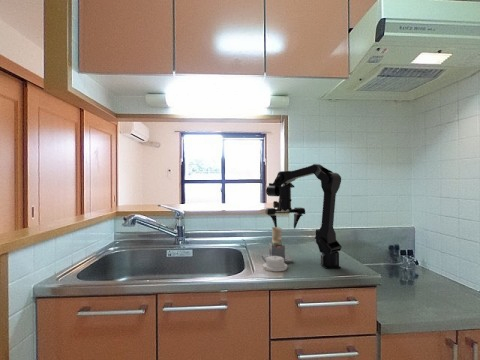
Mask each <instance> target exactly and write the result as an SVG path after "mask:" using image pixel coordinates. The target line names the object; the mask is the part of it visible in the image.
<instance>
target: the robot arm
mask: <svg viewBox="0 0 480 360" xmlns="http://www.w3.org/2000/svg"><path fill="white" fill-rule="evenodd" d="M311 175H315V177H316V178H317V179H318V180H319V181H320V186H321V190H322V192H323V201H322V212H321V213H322V215H321V224H320V225H321V226H320V228H319V229H316V230H315V237H314V240H315V244H317V247H318V250H319V252H320V253H321V254H320V265H321V266H322V267H324V269H342V266H340V252H341V250H342V245H341V244H340V243H339V241H338V240H337V234H336V231H335V228H334V221H335V209H336V196H337V193H338V192H339V190H340V188H341V183H342V177H341V175H340V174H339V173H337V172H333V171H332V170H330V169H329V168H327V167H324V166H323V165H321V164H319V163H314V164H311V165H308V166H305V167H301V168H297V169H294V170H281V171H278V172H277V176H276V177H275V179H274V181H273V182H269V183H268V185H267V186H266V189H265V193H266V195H267V196H268V197H278V201H277V200H275V201H273V204H272V206H273V207H266V208H265V215H268V217H270V218H271V220H272V222H273V225H274V227H278V221H277V215H276V214H287V213H288V214H290V213H291V214H293V229H297V228H296V227H297V226H298V225H297V224H298V223H299V220H300V219H301V217H302V216H303V215H306V209H305V208H304V207H300V206H299V207H298V206H297V207H294V208H292V188H295V185H294V184H293V183H292V182H295V180H297V179H300V178H303V177H308V176H311Z"/></svg>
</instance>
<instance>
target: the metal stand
mask: <svg viewBox="0 0 480 360" xmlns="http://www.w3.org/2000/svg"><path fill="white" fill-rule="evenodd" d="M269 256H279V257H282V258H284V263H285V264H294V259H292V257H290V256H289V255H288V254H287V253H286V246H285V244H283V243H282V245H277V246H273V245H272V242H269V243H268V253H267V254H265V253H264V254H263V253H262V254H261V258H262V259H263V261H264V263H266V258H267V257H269Z"/></svg>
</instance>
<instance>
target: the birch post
mask: <svg viewBox="0 0 480 360" xmlns="http://www.w3.org/2000/svg"><path fill="white" fill-rule="evenodd" d="M282 239H283V238H282V228H281V227H279V226H277V227H275V226H274V227H271V243H272V245H273V246H277V245H282V244H283V242H282Z"/></svg>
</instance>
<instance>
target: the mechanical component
mask: <svg viewBox="0 0 480 360" xmlns="http://www.w3.org/2000/svg"><path fill="white" fill-rule="evenodd" d="M262 266H263V267H262V268H263V269H264V270H266V271H268V272H283V271H286V270H287V269H288V263H284V258H282V257H279V256H269V257H267V258H266V262H264V263H263V264H262Z"/></svg>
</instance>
